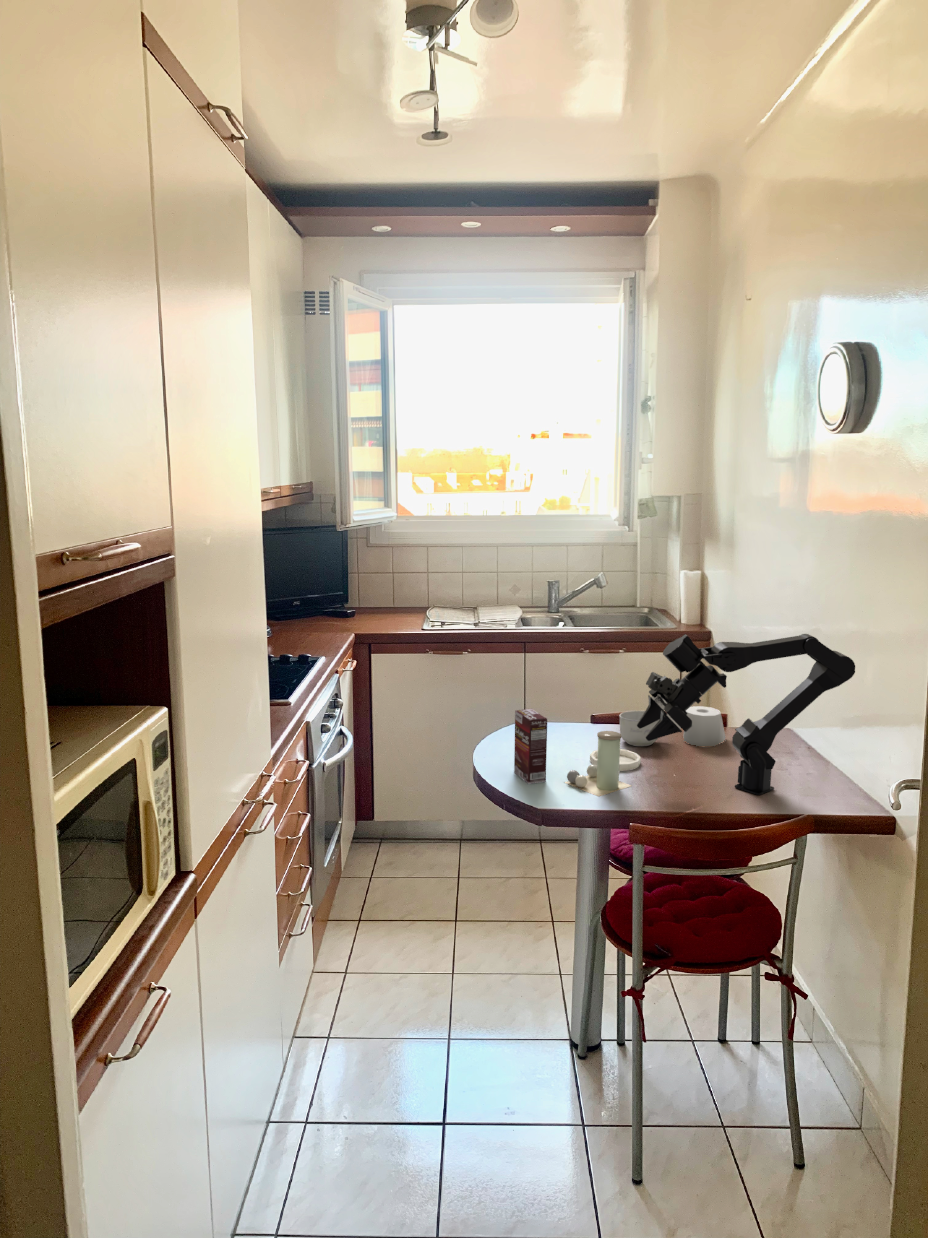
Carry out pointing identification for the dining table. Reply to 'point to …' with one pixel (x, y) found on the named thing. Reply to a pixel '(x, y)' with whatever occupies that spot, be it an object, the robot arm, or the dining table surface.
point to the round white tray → (621, 759)
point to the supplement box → (530, 746)
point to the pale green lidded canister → (608, 760)
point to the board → (593, 789)
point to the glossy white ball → (592, 771)
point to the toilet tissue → (704, 726)
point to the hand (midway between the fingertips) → (642, 733)
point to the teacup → (635, 729)
